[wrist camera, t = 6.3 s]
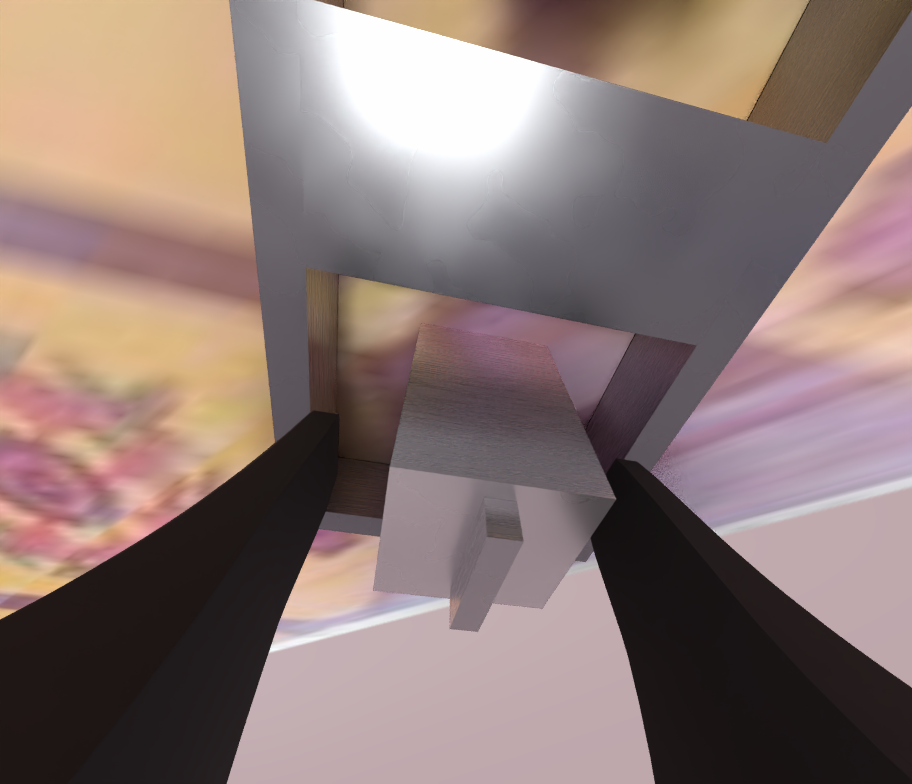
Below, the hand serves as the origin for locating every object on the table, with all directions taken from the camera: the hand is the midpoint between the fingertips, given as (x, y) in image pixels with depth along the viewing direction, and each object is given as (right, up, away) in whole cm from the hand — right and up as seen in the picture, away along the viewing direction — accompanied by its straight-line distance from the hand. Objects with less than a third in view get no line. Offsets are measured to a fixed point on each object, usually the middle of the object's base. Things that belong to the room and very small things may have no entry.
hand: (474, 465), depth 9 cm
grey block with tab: (0, +2, +3) cm, 4 cm away
